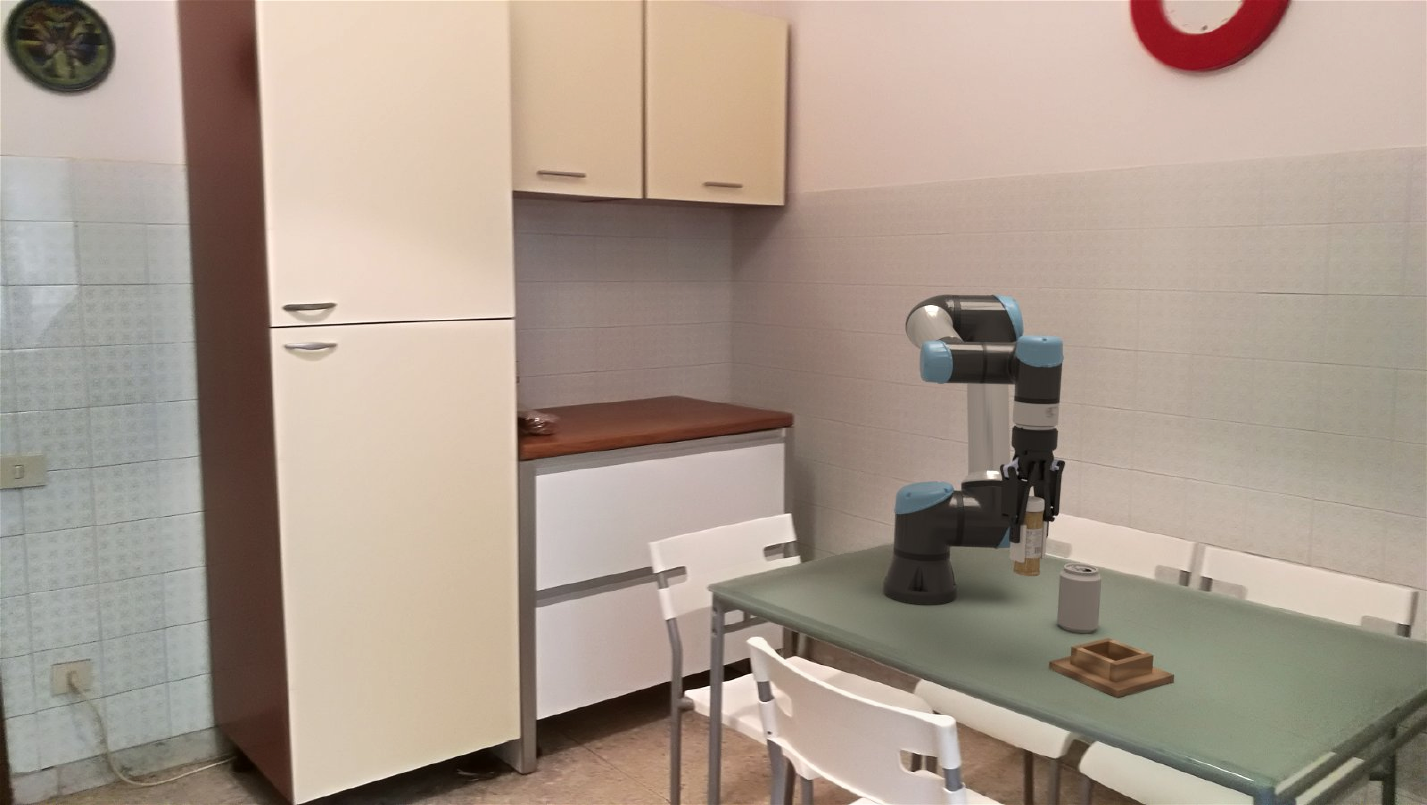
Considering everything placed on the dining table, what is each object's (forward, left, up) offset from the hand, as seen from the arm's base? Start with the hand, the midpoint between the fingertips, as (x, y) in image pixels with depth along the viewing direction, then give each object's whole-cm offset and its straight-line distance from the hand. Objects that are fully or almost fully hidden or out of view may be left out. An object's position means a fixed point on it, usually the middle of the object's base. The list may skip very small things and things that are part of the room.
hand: (1027, 558), depth 180 cm
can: (-6, +21, -18) cm, 28 cm away
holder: (+13, +7, -18) cm, 23 cm away
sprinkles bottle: (0, 0, -3) cm, 3 cm away
